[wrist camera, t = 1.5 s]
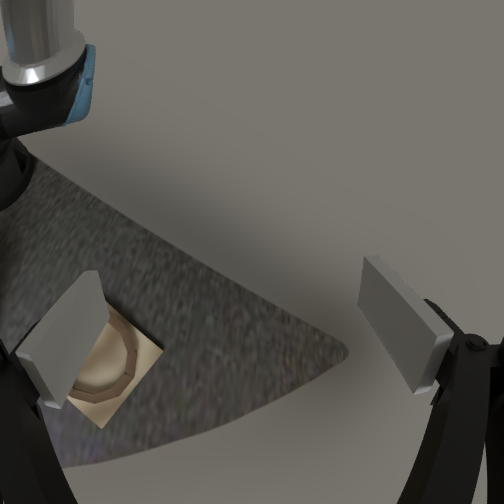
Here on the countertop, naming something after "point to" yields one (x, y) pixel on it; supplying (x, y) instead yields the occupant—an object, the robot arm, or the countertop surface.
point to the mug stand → (112, 369)
